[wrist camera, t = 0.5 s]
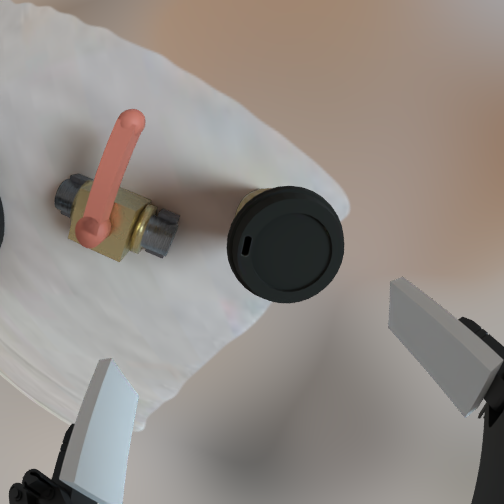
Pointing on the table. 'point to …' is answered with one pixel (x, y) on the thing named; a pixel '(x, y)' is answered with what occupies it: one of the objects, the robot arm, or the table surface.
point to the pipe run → (120, 220)
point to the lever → (109, 179)
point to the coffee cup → (285, 243)
